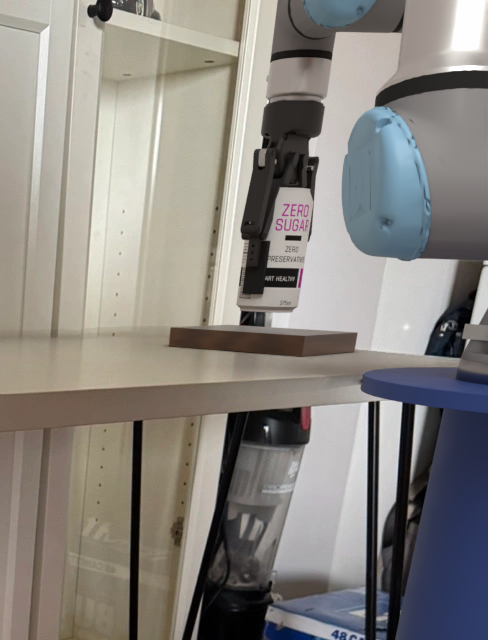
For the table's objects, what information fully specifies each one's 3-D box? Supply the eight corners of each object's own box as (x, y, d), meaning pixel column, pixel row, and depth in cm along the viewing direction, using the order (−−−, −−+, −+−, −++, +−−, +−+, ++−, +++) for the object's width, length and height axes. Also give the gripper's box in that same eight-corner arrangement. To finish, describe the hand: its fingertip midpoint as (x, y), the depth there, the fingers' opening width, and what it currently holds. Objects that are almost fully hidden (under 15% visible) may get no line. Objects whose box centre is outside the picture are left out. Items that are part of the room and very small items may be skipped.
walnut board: (354, 351, 142) (357, 332, 141) (301, 356, 132) (305, 335, 131) (226, 342, 155) (228, 324, 154) (168, 346, 144) (170, 327, 143)
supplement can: (253, 309, 147) (269, 191, 141) (307, 312, 142) (326, 190, 135) (224, 310, 141) (239, 188, 135) (279, 313, 136) (297, 186, 130)
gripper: (304, 113, 141) (279, 292, 150) (227, 94, 127) (204, 293, 136) (357, 109, 136) (328, 294, 145) (283, 88, 122) (256, 295, 131)
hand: (268, 293), depth 141 cm, fingers closed on supplement can, 8 cm apart
